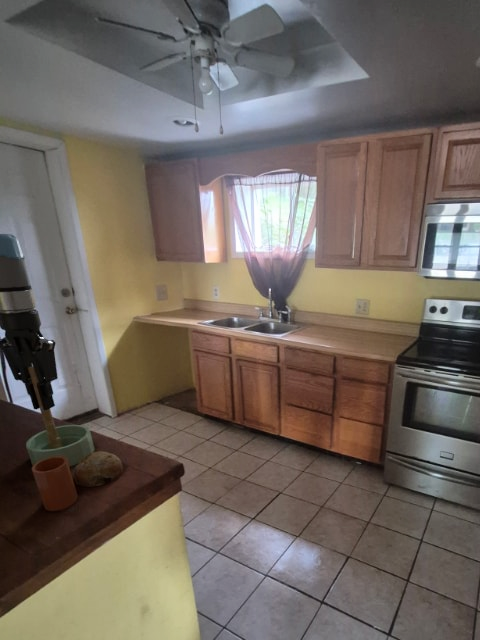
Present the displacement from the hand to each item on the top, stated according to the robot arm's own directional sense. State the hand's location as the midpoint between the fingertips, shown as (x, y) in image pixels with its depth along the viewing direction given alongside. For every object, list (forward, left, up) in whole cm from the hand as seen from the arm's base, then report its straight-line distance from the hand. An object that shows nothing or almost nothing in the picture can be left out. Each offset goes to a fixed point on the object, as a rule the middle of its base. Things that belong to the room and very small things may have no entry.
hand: (44, 407), depth 91 cm
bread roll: (+17, -7, -14) cm, 23 cm away
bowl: (+2, -1, -14) cm, 14 cm away
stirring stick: (0, 0, -12) cm, 12 cm away
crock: (+15, -17, -14) cm, 27 cm away
